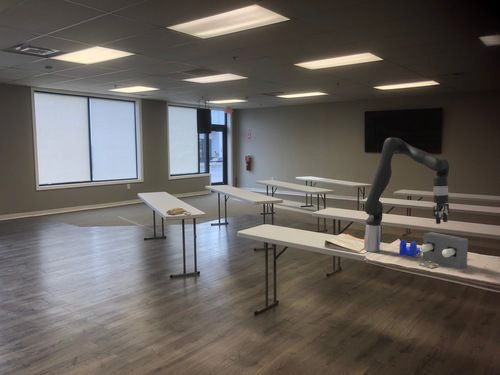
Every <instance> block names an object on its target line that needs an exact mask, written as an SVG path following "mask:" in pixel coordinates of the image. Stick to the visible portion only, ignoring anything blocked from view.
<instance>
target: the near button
mask: <svg viewBox="0 0 500 375" xmlns="http://www.w3.org/2000/svg"><path fill="white" fill-rule="evenodd" d="M456 251H457V249H456V248H450V249H445V250H443V251H442V255H443V256H444V257H449V256H452V255H456Z"/></svg>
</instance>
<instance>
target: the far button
mask: <svg viewBox="0 0 500 375" xmlns="http://www.w3.org/2000/svg"><path fill="white" fill-rule="evenodd" d="M423 244H424V243H423ZM423 244H422V245H421V246H420V251H421V252H422V253H423V252H427V251H430V250H434V246H435V244H434V243H429V244H424V245H423Z"/></svg>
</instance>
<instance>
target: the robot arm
mask: <svg viewBox="0 0 500 375" xmlns="http://www.w3.org/2000/svg"><path fill="white" fill-rule="evenodd" d="M396 153H399V154H402V155H405V156H407V157H409V158H410V159H411V160H412V161H415V162H416V163H419V164H421V165H423V166H425V167H426V168H428V169H430V170H431V171H434V172H436V175H435V176H434V177H433V190H432V191H433V203H434V204H436V205H433V214H432V215H433V217H435V223H436V224H437V225H441V222H443V223H448V216H449V214H450V204H449V187H448V185H449V184H448V177H449V172H450V162H449V161H448V160H447V159H446V158H437V157H435V156H433V154H431V153H429V152H426V151H424V150H421V149H419V148H417V147H414V146H412V145H411V144H409V143H407V142H405V141H404V140H402V139H401V138H400V137H388V138H386V139H385V140H384V142H383V146H382V151H381V156H380V159H379V163H378V166H377V169H376V172H375V174H374V179H373V182H372V185H371V187H370V188H371V189H370V192H369V193H368V196H367V199H366V201H365V203H364V205H363V206H364V212H365V213H366V214H367V215H368V217H367V219H366V220H365V234H364V236H363V237H364V242H363V245H364V246H363V249H364V250H365V251H366V252H370V253H371V252H372V253H373V252H374V253H375V252H376V253H377V252H380V250H381V229H382V228H381V227H382V226H381V225H382V221H383V214H384V208H383V207H384V206H383V203H382V202H381V200H380V199H381V196H382V194H383V193H384V191H385V190H386V189H387V187H388V185H389V183H390V181H391V179H392V178H391V177H392V159H393V156H394V154H396ZM441 216H442V220H441Z"/></svg>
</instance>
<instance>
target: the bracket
mask: <svg viewBox="0 0 500 375" xmlns="http://www.w3.org/2000/svg"><path fill="white" fill-rule="evenodd" d="M420 252H421V247H420V248H419V247H418V244H417V242H416V241H411V242H410V245H409V246H408V245H407V240H404V239H401V240H400V242H399V255H400V256H405V257H409V256H410V258H414V257H415V256H417V255H418V254H420ZM416 254H417V255H416Z"/></svg>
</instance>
